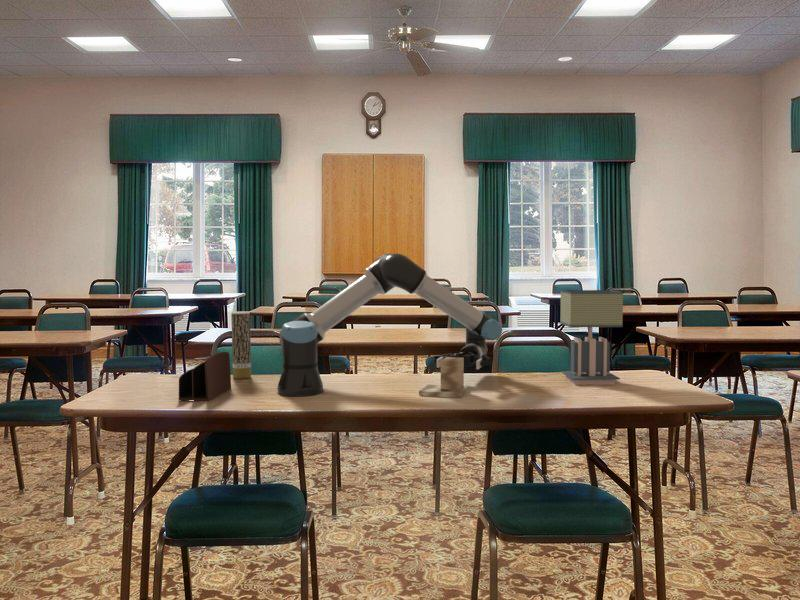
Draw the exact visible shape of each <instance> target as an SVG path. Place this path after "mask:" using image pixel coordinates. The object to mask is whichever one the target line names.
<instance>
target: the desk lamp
mask: <svg viewBox="0 0 800 600" xmlns="http://www.w3.org/2000/svg"><path fill="white" fill-rule="evenodd" d="M623 310H624V292H623V291H618V290H614V289H613V290H612V289H592V290H591V289H587V290H586V289H584V290H583V289H581V290H579V289H578V290H577V289H574V290H572V289H567V290H565V289H564V290H563V289H562V290H560V312H559V313H560V315H559V316H560V318H559V319H560V320H559V321H560V323H559V324H561V325H562V326H566V327H568V328H588V334H587V335H588V336H585V337H584V340H582V338H580V337H576V336H574V337H573V340H570V371H569V370H567V371H565V370H563V371H561V374H563V375H565V379H566V380H568V382H570V383H572V384H573V385H574V384H575V386H582V385H581V384H595V386H598V385H599V386H600V385H601V386H602V385H603V386H604V385H605V386H609V385H616V380H617V381H618V380H620V379H621V378H620V377H619V376H616V375H615V374H613V373H611V372H610V371H611V369H610V368H611V365H610V363H611V342H610V341H608V339H607V338H605V337H602V336H598V340H597V339H596V338H594V337H593V328H623V326H624V325H623V323H624V322H623V318H624V311H623Z"/></svg>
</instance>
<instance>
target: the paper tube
mask: <svg viewBox="0 0 800 600" xmlns="http://www.w3.org/2000/svg"><path fill="white" fill-rule="evenodd" d="M230 318H231V347H232V348H231V352H232V354H231V355H232V356H231V357H232V358H231V361H232V377H233V378H234V379H235V380H245V379H250V378H251V377H252V357H251V356H252V353H251V352H252V350H251V349H252V348H251V344H252V343H251V312H250V311H245V310H244V311H239V310H238V311H231V315H230Z"/></svg>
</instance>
